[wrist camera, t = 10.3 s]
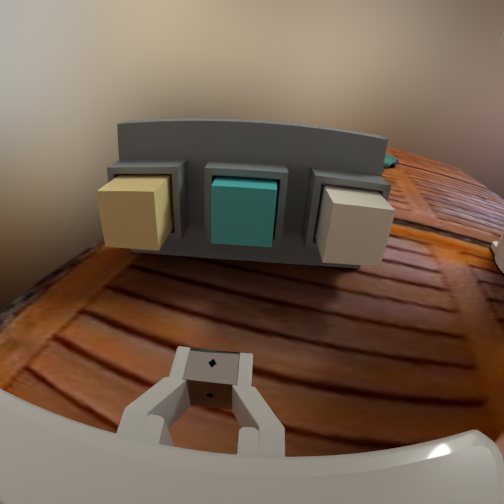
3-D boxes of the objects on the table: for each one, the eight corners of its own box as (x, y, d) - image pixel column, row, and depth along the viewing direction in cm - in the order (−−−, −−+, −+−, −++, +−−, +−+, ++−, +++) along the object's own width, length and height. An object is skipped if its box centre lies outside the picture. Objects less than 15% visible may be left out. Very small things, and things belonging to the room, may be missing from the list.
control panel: (355, 258, 33) (380, 136, 26) (367, 284, 29) (400, 145, 22) (136, 243, 34) (126, 121, 27) (119, 266, 29) (102, 128, 22)
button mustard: (173, 226, 28) (171, 174, 25) (159, 250, 24) (153, 191, 21) (125, 224, 28) (120, 174, 25) (105, 246, 24) (96, 191, 21)
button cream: (365, 240, 27) (376, 190, 25) (380, 266, 24) (395, 210, 21) (315, 236, 27) (323, 184, 25) (322, 262, 24) (333, 202, 21)
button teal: (271, 224, 29) (275, 173, 27) (271, 247, 25) (277, 189, 23) (218, 220, 29) (219, 170, 27) (211, 243, 25) (211, 185, 23)
